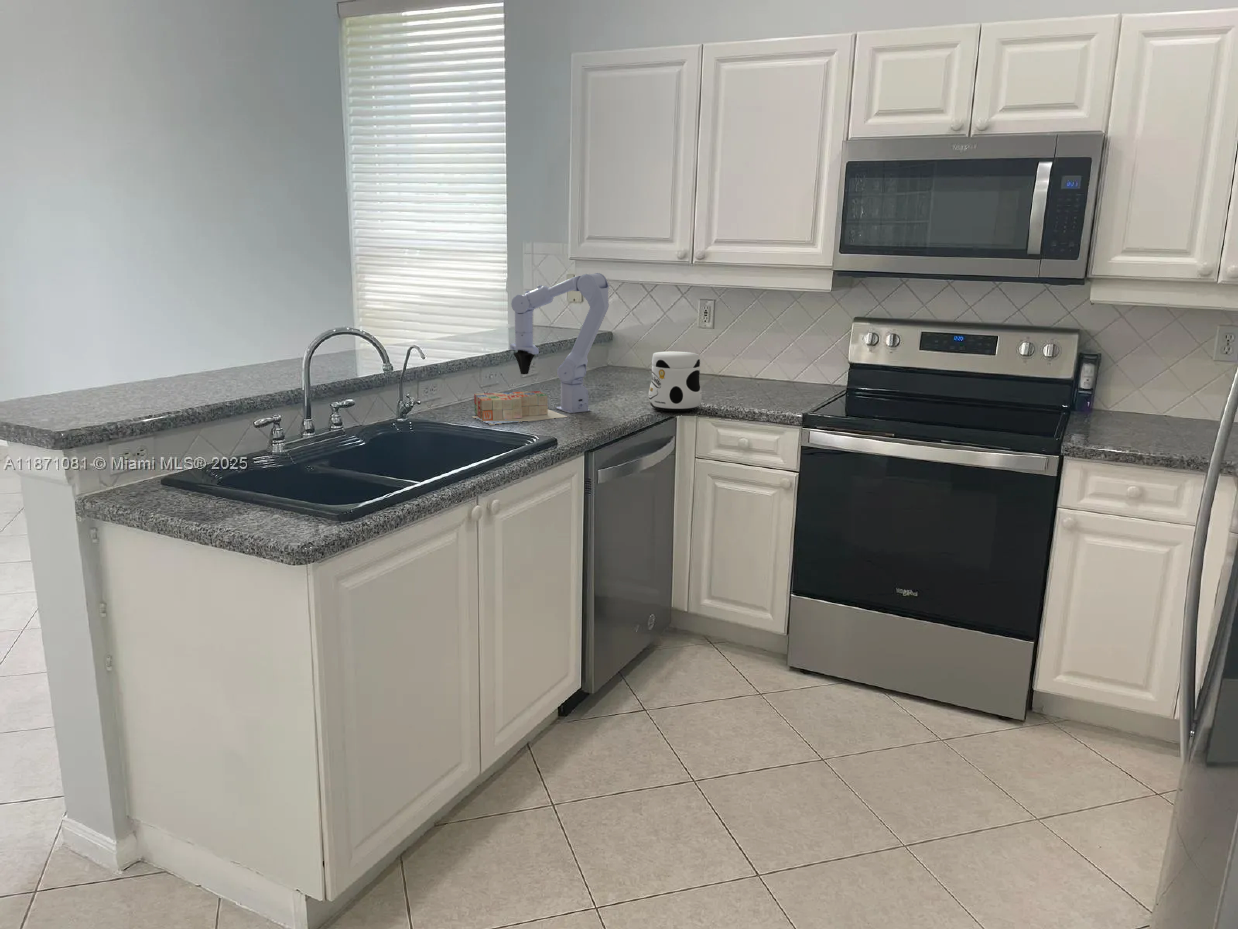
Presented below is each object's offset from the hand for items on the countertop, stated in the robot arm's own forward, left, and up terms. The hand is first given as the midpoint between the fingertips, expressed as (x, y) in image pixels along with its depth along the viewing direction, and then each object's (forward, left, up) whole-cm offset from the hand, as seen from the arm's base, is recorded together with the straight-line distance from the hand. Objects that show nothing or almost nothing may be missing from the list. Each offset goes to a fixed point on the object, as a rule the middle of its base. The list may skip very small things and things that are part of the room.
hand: (524, 373), depth 295 cm
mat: (-17, +10, -10) cm, 22 cm away
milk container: (-29, -40, -11) cm, 51 cm away
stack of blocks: (-8, +10, -7) cm, 14 cm away
